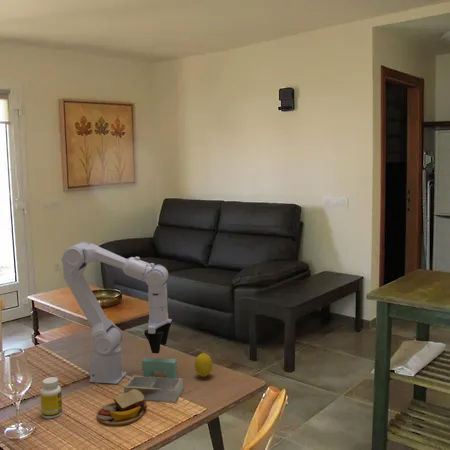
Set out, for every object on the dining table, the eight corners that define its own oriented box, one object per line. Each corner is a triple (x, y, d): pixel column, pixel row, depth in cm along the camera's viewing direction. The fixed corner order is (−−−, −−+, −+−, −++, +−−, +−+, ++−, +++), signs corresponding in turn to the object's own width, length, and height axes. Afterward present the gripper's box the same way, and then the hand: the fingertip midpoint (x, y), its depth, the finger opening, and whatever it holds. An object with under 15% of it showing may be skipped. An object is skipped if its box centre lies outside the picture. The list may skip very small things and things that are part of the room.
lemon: (210, 381, 161) (209, 356, 160) (193, 380, 163) (192, 355, 161) (214, 374, 167) (213, 350, 166) (197, 372, 168) (196, 349, 167)
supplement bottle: (62, 417, 141) (60, 382, 139) (41, 420, 139) (38, 385, 138) (62, 408, 146) (60, 374, 145) (42, 411, 144) (39, 377, 143)
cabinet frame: (124, 398, 151) (123, 387, 150) (133, 386, 159) (133, 375, 158) (175, 402, 148) (175, 390, 148) (183, 389, 156) (182, 378, 156)
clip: (142, 381, 162) (142, 361, 162) (145, 377, 165) (145, 357, 164) (175, 383, 161) (174, 363, 160) (177, 379, 164) (177, 359, 163)
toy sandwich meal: (92, 410, 145) (92, 394, 144) (140, 400, 150) (139, 384, 150) (101, 432, 134) (101, 414, 133) (153, 420, 139) (152, 403, 138)
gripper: (163, 313, 152) (165, 358, 154) (177, 299, 166) (178, 340, 168) (140, 312, 153) (142, 356, 155) (155, 298, 167) (156, 339, 169)
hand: (159, 348), depth 162 cm, fingers open, 7 cm apart
